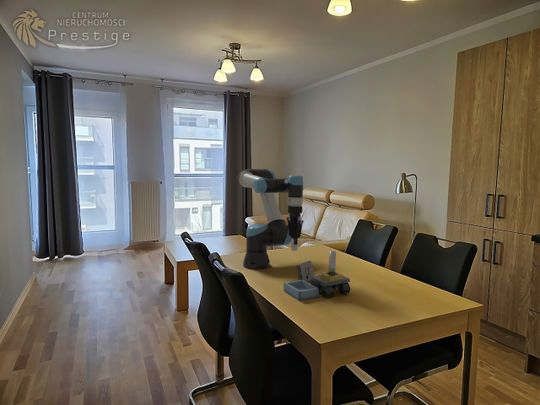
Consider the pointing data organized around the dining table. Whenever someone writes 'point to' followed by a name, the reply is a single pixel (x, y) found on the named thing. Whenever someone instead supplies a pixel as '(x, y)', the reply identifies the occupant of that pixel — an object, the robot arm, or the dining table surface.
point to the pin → (332, 263)
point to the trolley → (331, 283)
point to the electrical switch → (305, 271)
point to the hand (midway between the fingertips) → (294, 250)
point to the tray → (301, 290)
